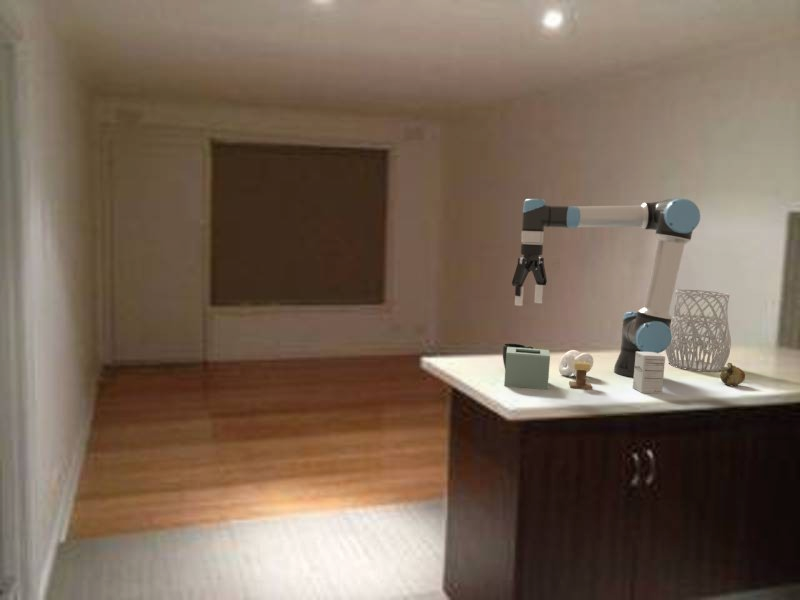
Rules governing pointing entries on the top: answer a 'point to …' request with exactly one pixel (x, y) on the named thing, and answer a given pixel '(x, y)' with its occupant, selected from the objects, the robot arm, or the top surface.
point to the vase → (699, 364)
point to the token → (581, 365)
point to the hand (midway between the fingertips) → (528, 304)
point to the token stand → (580, 381)
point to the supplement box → (648, 372)
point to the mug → (511, 346)
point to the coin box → (527, 368)
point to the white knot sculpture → (569, 360)
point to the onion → (732, 375)
